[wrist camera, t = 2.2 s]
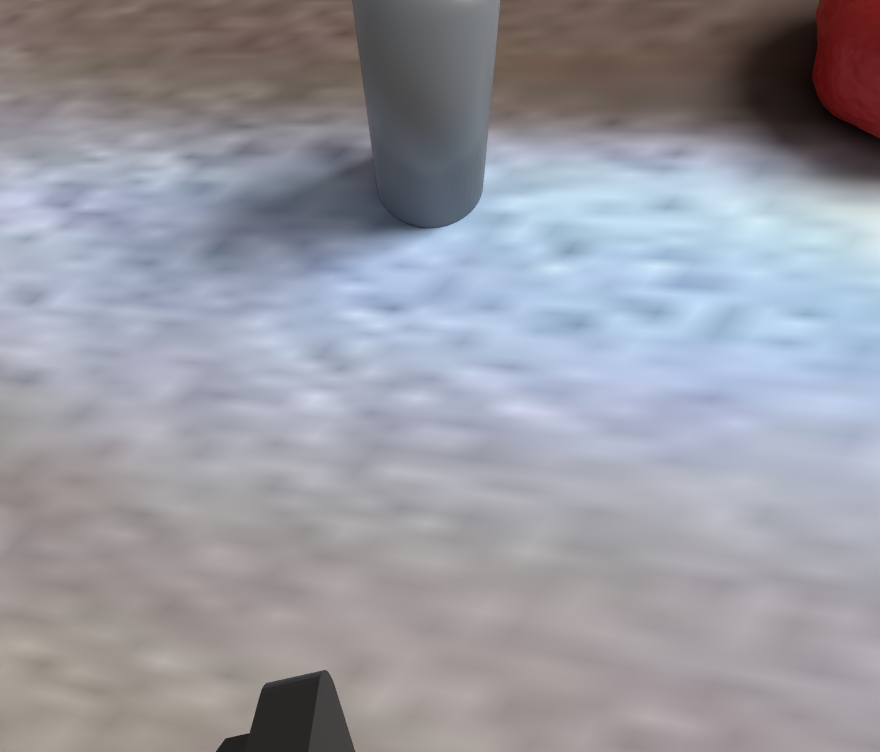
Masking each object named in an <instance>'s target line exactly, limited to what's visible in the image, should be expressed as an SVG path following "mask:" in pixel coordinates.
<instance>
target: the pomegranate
mask: <svg viewBox="0 0 880 752" xmlns="http://www.w3.org/2000/svg"><path fill="white" fill-rule="evenodd" d="M816 22H817V43H818V44H817V52H816V57H815V63H814V67H813V72H812V79H813V83H814V86H815V89H816V92H817V95H818V98H819V100H820V102H821V103H822V104H823V106H824V107H825V108H826V109H827V110H828V111H829V112H830V113H831V114H832V115H834V116H835V117H837V118H839V119H841V120H843V121H845V122H848V123H850V124H852V125H854V126H856V127H858V128H860V129H861V130H863V131H865V132H867V133H870V134H872V135H874V136H876V137H878V138H880V0H820V1H819V5H818V8H817V11H816Z"/></svg>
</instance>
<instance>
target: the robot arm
mask: <svg viewBox="0 0 880 752" xmlns="http://www.w3.org/2000/svg"><path fill="white" fill-rule="evenodd" d="M216 752H355V750H354V746H353V743H352V740H351V737H350V734H349V730H348V727H347V724H346V721H345V718H344V714H343V711H342V708H341V705H340V701H339V698H338V695H337V692H336V689H335V685H334V683H333V680H332V678H331V676H330V674H329V673H328V671H326V670H323V671H319V672H314V673H310V674H305V675H301V676H296V677H292V678H287V679H283V680H278V681H274V682H269V683H266V684H265V685H264V686H263V688H262V691H261V694H260V697H259V701H258V705H257V708H256V712H255V716H254V719H253V723H252V727H251V731H250V733H248V734H244V735H239V736H235V737H230V738H226V739H225V740H224V741H223V743H222V744H221V745H220V747H219V748H218V749H217V751H216Z"/></svg>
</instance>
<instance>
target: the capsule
mask: <svg viewBox="0 0 880 752" xmlns="http://www.w3.org/2000/svg"><path fill="white" fill-rule="evenodd" d="M352 3H353V11H354V18H355V26H356V33H357V41H358V48H359V56H360V63H361V71H362V78H363V86H364V93H365V101H366V108H367V116H368V123H369V131H370V138H371V146H372V153H373V161H374V168H375V175H376V183H377V190H378V194H379V197H380V199H381V202H382V203H383V205H384V206H385V208H386V209H387V210H388V211H389V212H390V213H391V214H392V215H393V216H395V217H396V218H397V219H399V220H401V221H403V222H405V223H407V224H410V225H413V226H417V227H425V228H434V227H442V226H446V225H449V224H452V223H455V222H457V221H459V220H461V219H462V218H464V217H465V216H466V215H468V214H469V213H470V212H471V211H472V210H473V209H474V208H475V206H476V205H477V203H478V201H479V199H480V197H481V194H482V190H483V182H484V171H485V160H486V149H487V138H488V127H489V117H490V106H491V95H492V84H493V73H494V62H495V51H496V40H497V30H498V19H499V8H500V0H352Z"/></svg>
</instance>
